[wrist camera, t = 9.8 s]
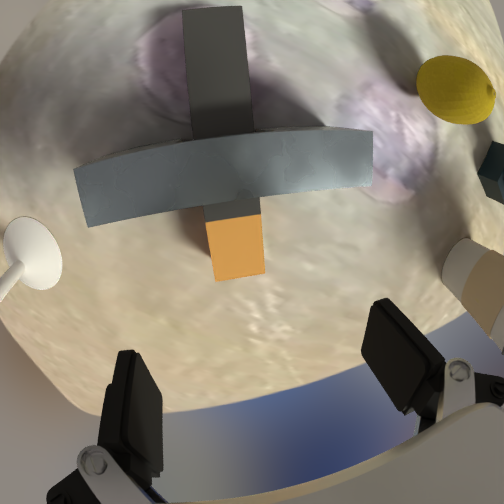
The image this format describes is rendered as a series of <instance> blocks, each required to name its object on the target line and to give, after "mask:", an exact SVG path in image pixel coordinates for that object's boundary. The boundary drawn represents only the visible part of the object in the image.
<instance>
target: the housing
mask: <svg viewBox="0 0 504 504" xmlns="http://www.w3.org/2000/svg"><path fill="white" fill-rule="evenodd" d="M73 170H74V174H75V179H76V184H77V188H78V192H79V196H80V200H81V204H82V208H83V212H84V216H85V219H86V223H87V226H88V228H89V227H94V226H98V225H103V224H107V223H112V222H116V221H121V220H126V219H131V218H136V217H141V216H146V215H151V214H156V213H162V212H167V211H173V210H178V209H184V208H190V207H196V206H202V205H208V204H215V203H221V202H228V201H235V200H242V199H249V198H256V197H264V196H272V195H280V194H288V193H297V192H307V191H316V190H327V189H337V188H349V187H362V186H372V170H373V131H367V130H359V129H350V128H341V127H330V126H304V127H279V128H264V129H256V132H255V133H244V134H234V135H226V136H218V137H210V138H203V139H197V140H190V141H184V142H182V139H176V140H171V141H165V142H160V143H155V144H151V145H146V146H141V147H137V148H133V149H128V150H124V151H120V152H116V153H113V154H109V155H106V156H104V157H101V158H99V159H96V160H94V161H91V162H89V163H86V164H84V165H82V166H80V167H77V168H75V169H73Z"/></svg>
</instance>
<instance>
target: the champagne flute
mask: <svg viewBox="0 0 504 504" xmlns="http://www.w3.org/2000/svg"><path fill="white" fill-rule="evenodd" d="M3 247H4V254H5V257H6V260H7V262H8V265H9V267H10V268H9V269H8V270H7V271H6V272H5V273H4V274H3V275H2V276H1V278H0V302H1V301H2V300H3V298H4V297H5V296H6V294H7V293H8V292H9V291H10V289H11V288H12V287H13V286H14V284H15V283H16V282H17V281H18V279H19V280H20V281H21V282H23V283H24V284H26V285H27V286H29V287H31V288H34V289H38V290H45V289H49V288H51V287H53V286H54V285H55V284H56V283H57V282H58V280H59V279H60V276H61V273H62V257H61V253H60V250H59V247H58V244H57V242H56V240H55V239H54V237H53V235H52V234H51V233H50V231H49V230H48V229H47V228H46V227H45V226H44V225H43V224H41V223H40V222H38V221H37V220H35V219H32V218H29V217H19V218H17V219H14V220H13V221H12V222H11V223H10V224H9V225H8V227H7V228H6V231H5V234H4V239H3Z"/></svg>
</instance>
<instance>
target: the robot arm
mask: <svg viewBox="0 0 504 504" xmlns="http://www.w3.org/2000/svg"><path fill="white" fill-rule="evenodd" d="M361 354H362V356H363V358H364V360H365V361H366V363H367V364H368V366H369V367H370V369H371V370H372V372H373V373H374V375H375V376H376V378H377V379H378V381H379V382H380V384H381V385H382V387H383V388H384V390H385V391H386V393H387V394H388V396H389V397H390V399H391V401H392V402H393V404H394V405H395V407H396V408H397V410H398V411H402V413H403V414H404V415H407V414H409V413H411V412H413V411H414V410H415V412H416V413H417V420H416V426H415V431H414V436H413V437H412V438H410V439H409V440H407V441H405V442H403V443H401V444H400V445H398V446H396V447H394V448H392V449H390V450H388V451H386V452H384V453H382V454H380V455H378V456H376V457H373V458H371V459H369V460H366V461H364V462H362V463H360V464H357V465H355V466H352V467H350V468H348V469H345V470H342V471H339V472H337V473H334V474H331V475H328V476H325V477H322V478H319V479H316V480H313V481H310V482H306V483H303V484H299V485H296V486H292V487H288V488H284V489H280V490H276V491H271V492H266V493H261V494H256V495H250V496H244V497H237V498H231V499H222V500H213V501H200V502H185V503H168V502H167V501H166V500H165V499H164V498H163V497H162V496H161V495H160V494H159V493H158V492H157V491H156V490H155V489H154V488H153V487H152V486H151V485H152V477H160V472H162V471H163V438H162V402H163V401H162V395H161V392H160V390H159V389H158V387H157V385H156V383H155V381H154V380H153V378H152V376H151V374H150V372H149V370H148V369H147V367H146V365H145V363H144V361H143V359H142V357H141V355H140V353H136V352H135V351H134V350H123V351H119V352H118V356H117V360H116V365H115V370H114V375H113V380H112V384H109V385H108V386H107V388H106V392H105V398H104V403H103V409H102V415H101V421H100V428H99V436H98V443H97V446H96V445H92V446H88V447H85V448H84V449H83V450H82V451H80V453H79V455H78V457H77V467H78V468H77V469H76V470H75V471H73V472H72V473H71V474H69V475H68V476H67V477H65V478H64V479H63V480H62V481H60V482H59V483H57V484H56V485H55V486H53V487H52V488H51V489H50V490H49V491H48V493H47V498H46V500H47V504H504V378H502V377H499V376H493V375H487V374H481V373H476V372H474V370H473V367H472V366H471V364H470V363H469V362H468V361H466V360H464V359H462V358H453V359H450V360H449V361H448V362H447V363H446V362H445V361H444V360H445V359H444V357H443V356H442V355H441V354H440V353H439V352H438V350H437V349H436V348H435V347H434V346H433V345H432V344H431V343H430V342H429V341H428V340H427V338H426V337H425V336H424V335H423V334H422V333H421V332H420V331H419V330H418V328H417V327H416V326H415V325H414V324H413V323H412V322H411V321H410V320H409V319H408V318H407V317H406V316H405V315H404V314H403V313H402V312H401V311H400V310H399V309H398V307H397V306H396V305H395V304H394V303H393V302H392V301H391V300H390V299H388V298H384V299H381V300H377V301H375V302H374V303H373V306H371V308H370V313H369V317H368V322H367V327H366V331H365V335H364V340H363V344H362V348H361Z"/></svg>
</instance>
